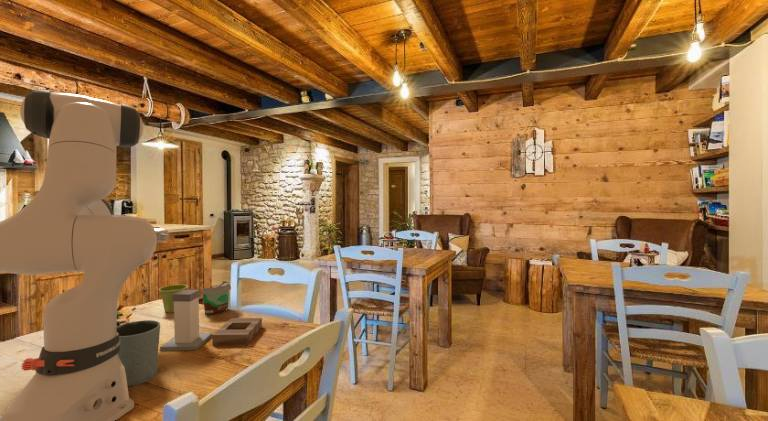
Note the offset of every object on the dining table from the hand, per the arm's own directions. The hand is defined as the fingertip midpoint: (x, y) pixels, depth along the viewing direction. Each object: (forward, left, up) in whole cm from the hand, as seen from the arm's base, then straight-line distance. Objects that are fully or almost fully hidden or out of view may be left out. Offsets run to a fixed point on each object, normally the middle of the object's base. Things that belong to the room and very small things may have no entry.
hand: (153, 239), depth 107 cm
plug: (-4, -11, -29) cm, 31 cm away
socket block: (+1, -24, -30) cm, 39 cm away
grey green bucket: (-24, -9, -30) cm, 40 cm away
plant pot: (+27, +9, -30) cm, 41 cm away
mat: (-4, -11, -30) cm, 32 cm away
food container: (+25, -9, -30) cm, 40 cm away
